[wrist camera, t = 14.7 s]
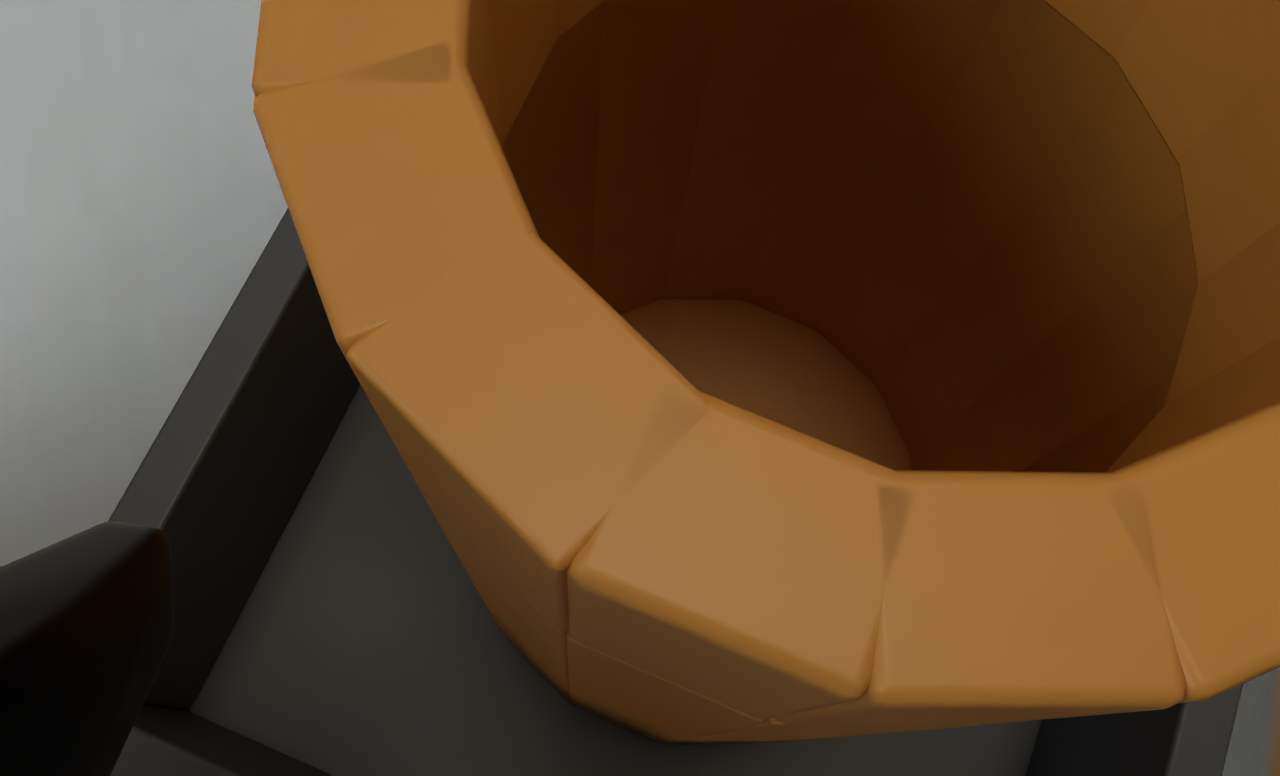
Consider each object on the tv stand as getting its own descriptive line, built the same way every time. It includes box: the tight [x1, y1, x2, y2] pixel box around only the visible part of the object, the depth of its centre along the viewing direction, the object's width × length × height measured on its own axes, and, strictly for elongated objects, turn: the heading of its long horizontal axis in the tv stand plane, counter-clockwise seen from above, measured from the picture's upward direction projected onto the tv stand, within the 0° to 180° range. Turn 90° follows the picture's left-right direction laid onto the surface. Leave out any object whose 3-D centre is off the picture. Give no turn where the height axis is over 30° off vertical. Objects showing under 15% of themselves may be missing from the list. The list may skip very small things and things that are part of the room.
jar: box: [252, 0, 1280, 744], centre depth 11 cm, size 7×7×12 cm
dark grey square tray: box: [108, 208, 1243, 776], centre depth 15 cm, size 12×12×4 cm
